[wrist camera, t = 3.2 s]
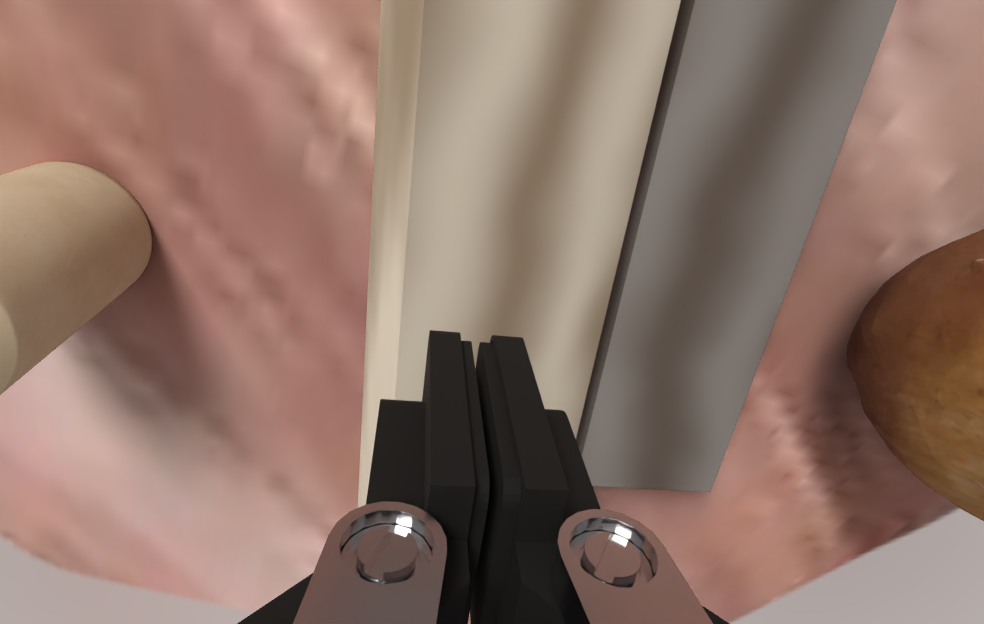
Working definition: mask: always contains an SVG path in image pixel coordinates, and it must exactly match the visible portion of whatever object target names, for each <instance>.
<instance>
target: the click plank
mask: <svg viewBox="0 0 984 624" xmlns="http://www.w3.org/2000/svg"><path fill="white" fill-rule="evenodd" d="M680 2H681V0H381V14H380V36H379V58H378V80H377V102H376V124H375V145H374V167H373V189H372V211H371V233H370V255H369V277H368V299H367V321H366V343H365V365H364V386H363V408H362V430H361V452H360V474H359V496H358V508H359V507H361V506H363V505H366V500H367V493H368V485H369V478H370V471H371V463H372V456H373V449H374V441H375V434H376V427H377V419H378V412H379V405H380V399H390V400H406V401H422V397H423V387H424V377H425V368H426V358H427V348H428V339H429V332H430V330H435V331H447V332H460V334H461V341H471V342H472V348H473V356H474V363H475V368H476V361H477V354H478V348H479V344H480V342H487V343H490V340H491V337H492V335H498V336H511V337H523V339H524V342H525V346H526V349H527V352H528V355H529V359H530V362H531V365H532V369H533V372H534V375H535V379H536V382H537V385H538V388H539V392H540V395H541V398H542V402H543V405H544V408H545V409H553V410H563V411H565V413H566V415H567V417H568V419H569V422H570V425H571V428H572V430H573V433H574V436H575V439H576V436H577V432H578V428H579V424H580V420H581V416H582V411H583V407H584V403H585V399H586V395H587V390H588V386H589V382H590V378H591V374H592V370H593V365H594V361H595V357H596V353H597V349H598V345H599V340H600V336H601V332H602V328H603V324H604V319H605V315H606V311H607V307H608V303H609V299H610V294H611V290H612V286H613V282H614V278H615V273H616V269H617V265H618V261H619V257H620V253H621V248H622V244H623V240H624V236H625V232H626V228H627V223H628V219H629V215H630V211H631V207H632V202H633V198H634V194H635V190H636V186H637V182H638V177H639V173H640V169H641V165H642V161H643V157H644V152H645V148H646V144H647V140H648V136H649V131H650V127H651V123H652V119H653V115H654V111H655V106H656V102H657V98H658V94H659V90H660V86H661V81H662V77H663V73H664V69H665V65H666V60H667V56H668V52H669V48H670V44H671V40H672V35H673V31H674V27H675V23H676V19H677V15H678V10H679V6H680Z"/></svg>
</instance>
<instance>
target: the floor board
mask: <svg viewBox="0 0 984 624" xmlns="http://www.w3.org/2000/svg"><path fill="white" fill-rule="evenodd" d="M896 1H897V0H681V2H680V6H679V10H678V15H677V19H676V23H675V27H674V31H673V35H672V40H671V44H670V48H669V52H668V56H667V60H666V65H665V69H664V73H663V77H662V81H661V86H660V90H659V94H658V98H657V102H656V106H655V111H654V115H653V119H652V123H651V127H650V131H649V136H648V140H647V144H646V148H645V152H644V157H643V161H642V165H641V169H640V173H639V177H638V182H637V186H636V190H635V194H634V198H633V202H632V207H631V211H630V215H629V219H628V223H627V228H626V232H625V236H624V240H623V244H622V248H621V253H620V257H619V261H618V265H617V269H616V273H615V278H614V282H613V286H612V290H611V294H610V299H609V303H608V307H607V311H606V315H605V319H604V324H603V328H602V332H601V336H600V340H599V345H598V349H597V353H596V357H595V361H594V365H593V370H592V374H591V378H590V382H589V386H588V390H587V395H586V399H585V403H584V407H583V411H582V416H581V420H580V424H579V428H578V432H577V436H576V442H577V444H578V447H579V450H580V453H581V456H582V458H583V461H584V464H585V467H586V470H587V472H588V475H589V478H590V481H591V484H592V486H600V487H619V488H639V489H659V490H678V491H698V492H711V489H712V486H713V484H714V481H715V478H716V476H717V473H718V471H719V468H720V465H721V463H722V460H723V457H724V455H725V452H726V449H727V447H728V444H729V442H730V439H731V436H732V434H733V431H734V428H735V426H736V423H737V420H738V418H739V415H740V412H741V410H742V407H743V405H744V402H745V399H746V397H747V394H748V391H749V389H750V386H751V383H752V381H753V378H754V376H755V373H756V370H757V368H758V365H759V362H760V360H761V357H762V354H763V352H764V349H765V346H766V344H767V341H768V339H769V336H770V333H771V331H772V328H773V325H774V323H775V320H776V317H777V315H778V312H779V310H780V307H781V304H782V302H783V299H784V296H785V294H786V291H787V288H788V286H789V283H790V280H791V278H792V275H793V273H794V270H795V267H796V265H797V262H798V259H799V257H800V254H801V251H802V249H803V246H804V244H805V241H806V238H807V236H808V233H809V230H810V228H811V225H812V222H813V220H814V217H815V214H816V212H817V209H818V207H819V204H820V201H821V199H822V196H823V193H824V191H825V188H826V185H827V183H828V180H829V178H830V175H831V172H832V170H833V167H834V164H835V162H836V159H837V156H838V154H839V151H840V149H841V146H842V143H843V141H844V138H845V135H846V133H847V130H848V127H849V125H850V122H851V119H852V117H853V114H854V112H855V109H856V106H857V104H858V101H859V98H860V96H861V93H862V90H863V88H864V85H865V83H866V80H867V77H868V75H869V72H870V69H871V67H872V64H873V61H874V59H875V56H876V53H877V51H878V48H879V46H880V43H881V40H882V38H883V35H884V32H885V30H886V27H887V24H888V22H889V19H890V17H891V14H892V11H893V9H894V6H895V3H896Z"/></svg>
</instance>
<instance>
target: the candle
mask: <svg viewBox="0 0 984 624" xmlns="http://www.w3.org/2000/svg"><path fill="white" fill-rule="evenodd" d="M151 251H152V235H151V230H150V226H149V223H148V221H147V218H146V216H145V214H144V212H143V210H142V209H141V207H140V205H139V204H138V203H137V201H136V200H135V199H134V197H133V196H132V195H131V194H130V193H129V192H128V191H127V190H126V189H125V188H124V187H123V186H122V185H120V184H119V183H118V182H116V181H115V180H114V179H112V178H111V177H109V176H107V175H106V174H104V173H102V172H100V171H98V170H96V169H93V168H91V167H88V166H85V165H81V164H77V163H71V162H45V163H39V164H35V165H32V166H28V167H25V168H22V169H19V170H15V171H12V172H9V173H7V174H4V175H1V176H0V395H1V394H2V393H3V392H4V391H5V390H7V389H8V388H9V387H10V386H11V385H13V384H14V383H15V382H16V381H17V380H19V379H20V378H21V377H22V376H23V375H25V374H26V373H27V372H28V371H29V370H31V369H32V368H33V367H34V366H35V365H37V364H38V363H39V362H40V361H41V360H43V359H44V358H45V357H46V356H47V355H49V354H50V353H51V352H52V351H53V350H55V349H56V348H57V347H58V346H59V345H60V344H62V343H63V342H64V341H65V340H66V339H68V338H69V337H70V336H71V335H72V334H74V333H75V332H76V331H77V330H78V329H80V328H81V327H82V326H83V325H84V324H86V323H87V322H88V321H89V320H90V319H92V318H93V317H94V316H95V315H96V314H98V313H99V312H100V311H101V310H102V309H104V308H105V307H106V306H107V305H108V304H110V303H111V302H112V301H113V300H114V299H116V298H117V297H118V296H119V295H120V294H122V293H123V292H124V291H125V290H126V289H127V288H128V287H129V286H130V285H132V284H133V283H134V282H135V281H136V280H137V279H138V278H139V277H140V275H141V274H142V273H143V271H144V270H145V268H146V266H147V264H148V262H149V259H150V256H151Z"/></svg>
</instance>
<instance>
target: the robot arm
mask: <svg viewBox="0 0 984 624" xmlns="http://www.w3.org/2000/svg"><path fill="white" fill-rule="evenodd" d="M469 612H470V617H471V624H729V623H727V622H726V621H724V620H723V619H721V618H720V617H718V616H717V615H715V614H714V613H712V612H711V611H709V610H708V609H706V608H705V607H703V606H702V605H701V604H700V602H699V601H698V599H697V597H696V596H695V594H694V593H693V591H692V590H691V588H690V586H689V585H688V583H687V582H686V580H685V578H684V577H683V575H682V574H681V572H680V571H679V569H678V567H677V566H676V564H675V563H674V561H673V559H672V558H671V556H670V555H669V553H668V552H667V550H666V548H665V547H664V545H663V544H662V543H661V542H660V540H659V539H658V538H657V537H656V535H655V534H654V533H653V532H652V531H651V530H649V529H648V528H647V527H645V526H644V525H643V524H641V523H640V522H639V521H637V520H635V519H633V518H631V517H629V516H627V515H625V514H622V513H618V512H614V511H610V510H603V509H600V506H599V503H598V501H597V498H596V495H595V492H594V489H593V486H592V484H591V481H590V478H589V475H588V472H587V470H586V467H585V464H584V461H583V458H582V456H581V453H580V450H579V447H578V444H577V442H576V439H575V436H574V433H573V430H572V428H571V425H570V422H569V419H568V417H567V415H566V413H565V411H563V410H553V409H545V408H544V405H543V402H542V398H541V395H540V392H539V388H538V385H537V382H536V379H535V375H534V372H533V369H532V365H531V362H530V359H529V355H528V352H527V349H526V346H525V342H524V339H523V337H511V336H498V335H492V337H491V340H490V343H487V342H480V344H479V348H478V354H477V361H476V368H475V363H474V356H473V348H472V342H471V341H461V334H460V332H447V331H435V330H430V332H429V339H428V348H427V358H426V368H425V377H424V387H423V397H422V401H406V400H390V399H380V405H379V412H378V419H377V427H376V434H375V441H374V449H373V456H372V463H371V471H370V478H369V485H368V493H367V500H366V505H363V506H361V507H359V508H357V509H355V510H352V511H350V512H349V513H348V514H346V515H345V516H344V517H343V518H342V519H340V520H339V521H338V522H337V523H336V525H335V526H334V528H333V529H332V531H331V532H330V534H329V536H328V538H327V541H326V543H325V546H324V548H323V550H322V553H321V555H320V558H319V560H318V563H317V565H316V568H315V570H314V573H312V574H311V575H309V576H308V577H306V578H305V579H303V580H302V581H300V582H299V583H297V584H296V585H294V586H293V587H291V588H290V589H288V590H287V591H286V592H284V593H283V594H281V595H280V596H278V597H277V598H275V599H274V600H272V601H271V602H269V603H268V604H266V605H265V606H263V607H262V608H260V609H259V610H257V611H256V612H254V613H253V614H251V615H250V616H248V617H247V618H245V619H244V620H242V621H241V622H239V623H238V624H467V623H468V618H469Z"/></svg>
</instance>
